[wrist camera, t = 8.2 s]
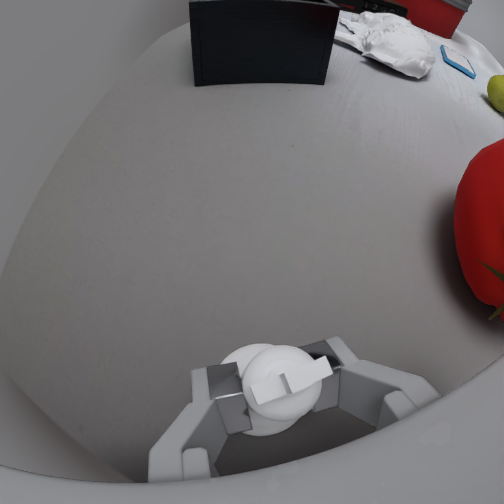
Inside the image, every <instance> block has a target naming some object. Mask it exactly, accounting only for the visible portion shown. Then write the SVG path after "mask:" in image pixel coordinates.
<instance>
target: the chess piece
mask: <svg viewBox="0 0 504 504" xmlns="http://www.w3.org/2000/svg"><path fill="white" fill-rule="evenodd" d="M231 362H237V366H238V370H239V374H240V378H241V381H242V387H243V393H244V396H245V399H246V401H247V406H248V411H249V415H250V419H251V423H252V428H253V430H249V431H245V432H242V433H244V434H248V435H253V436H267V435H273V434H276V433H279V432H281V431H284V430H285V429H287V428H289V427H290V426H292V425H293V424H294V423H295V422H296V421H297V420H298V419H299V418H300V417H301V416H303V415H305V414H306V413H307V412H308V411H310V410H311V409H312V407H313V406H314V405H315V404H316V402H317V400H318V398H319V396H320V393H321V388H322V379H323V378H325V377H327V376H329V375H332V374H333V372H332V369H331V367H330V365H329V362H328V360H327V358H326V356H323V357H321V358H319V359H317V360H314V359H313V358H312V357H311V356H310V355H309V354H307V353H306V352H305V351H303V350H301V349H299V348H296V347H293V346H288V345H278V346H275V345H271V344H251V345H247V346H244V347H242V348H239V349H237V350H235V351H234V352H232V353H231V354H229V355H228V356H227V357H226V358H225V359H224V360H223V361H222V362H221V364H226V363H231Z"/></svg>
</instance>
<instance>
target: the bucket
mask: <svg viewBox="0 0 504 504" xmlns="http://www.w3.org/2000/svg"><path fill="white" fill-rule="evenodd" d="M395 1H396V2H398V3H400V4H401V5H403V6H405V7H406V8H408V14H407V18H406V20H408V21H409V20H410V22H411V23H412V24H413V25H415V26H417V27H420V28H422V29H424V30H427V31H429V32H431V33H434V34H436V35H439V36H441V37H444V38H448V39H451V36H452V35H453V33H454V31H455V29H456V28H457V26H458V24H459V22H460V21H461V19H462V16H463V15H464V13H465V12H467V11H468V10H467V9H468V7H469V6H470V4H472V0H395Z"/></svg>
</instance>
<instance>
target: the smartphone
mask: <svg viewBox="0 0 504 504" xmlns="http://www.w3.org/2000/svg"><path fill="white" fill-rule="evenodd" d="M440 48H441V51H442V54H443V57H444V60H445V61H446V62H448V63H450V64H451V65H453V66H455V67H456V68H458V69H460V70H461V71H463V72H465V73H466V74H467V75H468V76H470V77H473V78H475V76H476V74H475V72H474V70H473V68H472V66H471V64H470V63H469V61H468V60H467V59H466V58H465V57H463V56H462V55H460V54H458V53H456V52H455V51H453V50H451V49H449V48H448V47H446V46H444V45H441V47H440Z"/></svg>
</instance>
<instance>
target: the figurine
mask: <svg viewBox="0 0 504 504" xmlns="http://www.w3.org/2000/svg"><path fill="white" fill-rule="evenodd" d="M339 19H340V22H341V23H342V24H345V25H346V26H347V28H349V29H350V30H351V31H353V32H354V33H355V34H346V33H342V32H339V31H338V30H336V32H335V36H334V39H338V40H340V41H342V42H345V43H348V44H350V45H351V46H353V47H355V48H357V49H358V50H360V51H362V52H363V54H362V56H367V57H370V58H373V59H375V60H377V61H379V62H381V63H383V64H385V65H387V66H389V67H391V68H393V69H395V70H397V71H401V72H402V73H404V74H406V75H408V76H414V77H416V78H418V79H419V78H421V77H424V76H425V75H426V74H428V73H429V72H430V71H431V69H432V66H433V64H434V62H435V53H434V51H433V49H432V47H431V46H430V44H429V42H428V40H427V38H426V37H425V35H424V34H422V33H423V32H422V31H419V30H418V29H417V28H416V27H415V26H413V25H412V23H411V22H410V20H409V21H408V20H406V19H405V18H403V17H400V16H398V15H395V14H391V13H371V12H367V11H366V12H363V13H361V14H360V15H354V14H353V15H352V21H353V22H352V21H350V20H347V19H345V18H342V17H341V18H339Z"/></svg>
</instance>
